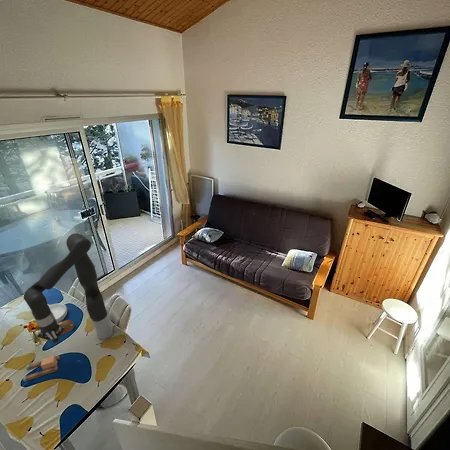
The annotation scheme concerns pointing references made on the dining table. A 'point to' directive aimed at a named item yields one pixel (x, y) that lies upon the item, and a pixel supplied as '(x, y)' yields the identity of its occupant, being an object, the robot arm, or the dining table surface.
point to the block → (49, 363)
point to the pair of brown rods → (39, 372)
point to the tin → (66, 326)
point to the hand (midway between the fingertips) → (56, 341)
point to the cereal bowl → (58, 311)
